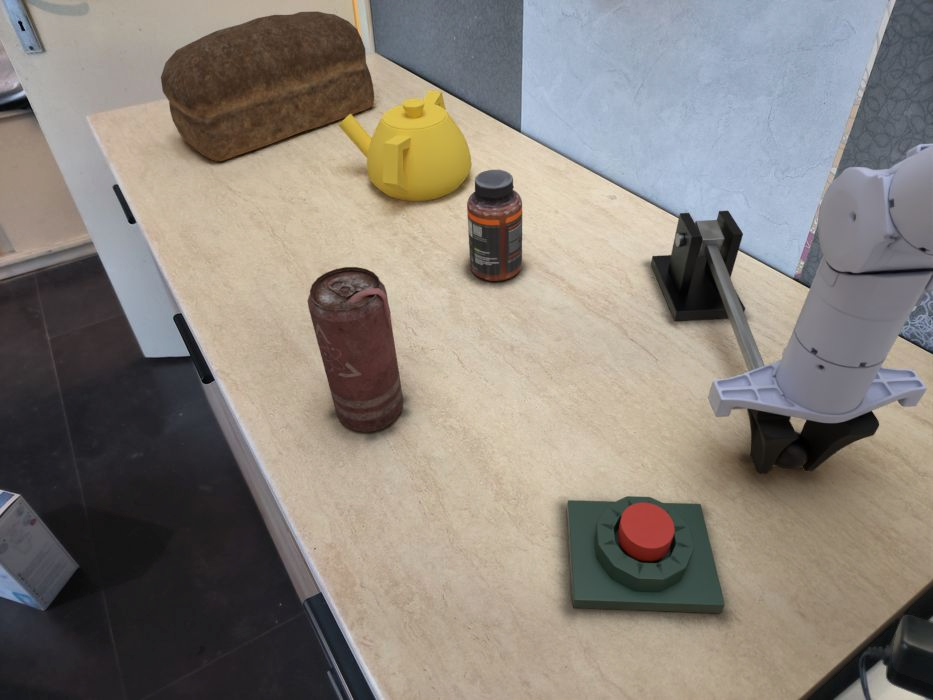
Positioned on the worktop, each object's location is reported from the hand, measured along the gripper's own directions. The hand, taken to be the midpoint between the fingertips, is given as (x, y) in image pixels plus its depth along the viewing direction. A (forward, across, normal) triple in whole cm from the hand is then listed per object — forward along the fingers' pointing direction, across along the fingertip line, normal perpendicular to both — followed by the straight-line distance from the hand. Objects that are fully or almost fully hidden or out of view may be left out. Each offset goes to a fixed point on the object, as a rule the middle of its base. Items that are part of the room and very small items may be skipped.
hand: (781, 462), depth 53 cm
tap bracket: (+1, 0, -24) cm, 24 cm away
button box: (0, +13, +7) cm, 15 cm away
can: (+1, +34, -9) cm, 35 cm away
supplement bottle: (+1, +21, -30) cm, 36 cm away
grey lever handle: (-2, 0, -12) cm, 12 cm away
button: (-2, +13, +7) cm, 15 cm away
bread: (+1, +53, -73) cm, 91 cm away
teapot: (+1, +32, -52) cm, 61 cm away
